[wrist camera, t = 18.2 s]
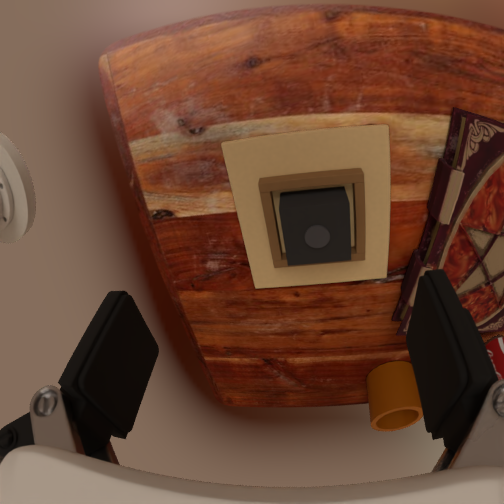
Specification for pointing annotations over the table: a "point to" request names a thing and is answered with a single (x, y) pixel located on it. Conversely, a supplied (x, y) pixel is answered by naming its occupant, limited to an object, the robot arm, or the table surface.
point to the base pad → (305, 178)
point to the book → (465, 223)
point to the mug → (393, 396)
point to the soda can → (496, 354)
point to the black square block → (316, 225)
